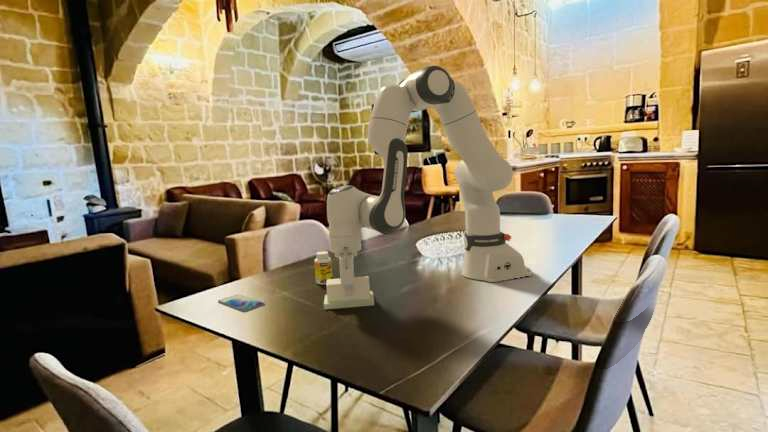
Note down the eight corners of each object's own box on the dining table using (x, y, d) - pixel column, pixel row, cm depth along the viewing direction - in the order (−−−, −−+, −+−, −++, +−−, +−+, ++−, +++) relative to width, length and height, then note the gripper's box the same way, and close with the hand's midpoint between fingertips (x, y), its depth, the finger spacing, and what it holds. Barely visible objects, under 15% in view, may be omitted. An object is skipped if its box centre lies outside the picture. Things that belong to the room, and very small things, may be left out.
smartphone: (238, 294, 133) (266, 303, 124) (238, 296, 133) (266, 306, 124) (216, 300, 128) (244, 310, 118) (217, 303, 128) (244, 313, 118)
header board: (372, 295, 126) (371, 279, 125) (374, 305, 118) (373, 288, 118) (325, 299, 125) (324, 283, 124) (324, 309, 117) (322, 292, 116)
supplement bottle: (320, 286, 138) (317, 255, 136) (313, 282, 142) (310, 252, 141) (335, 282, 141) (333, 252, 139) (328, 278, 145) (326, 249, 144)
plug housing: (369, 292, 124) (368, 276, 123) (370, 298, 119) (369, 281, 119) (328, 295, 123) (326, 279, 122) (327, 302, 118) (326, 285, 118)
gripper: (357, 251, 109) (361, 302, 111) (355, 236, 129) (358, 279, 131) (333, 253, 108) (337, 305, 111) (334, 237, 129) (338, 281, 131)
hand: (348, 291), depth 121 cm, fingers open, 6 cm apart
